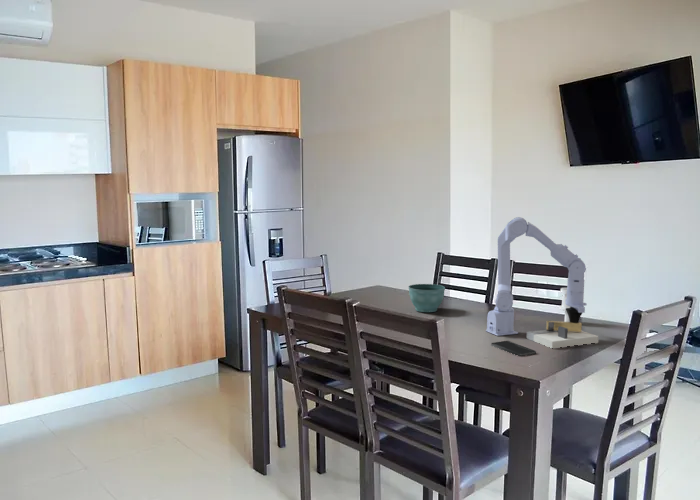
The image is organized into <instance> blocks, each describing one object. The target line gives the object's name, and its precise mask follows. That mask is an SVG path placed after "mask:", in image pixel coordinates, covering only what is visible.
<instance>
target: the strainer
mask: <svg viewBox="0 0 700 500" xmlns="http://www.w3.org/2000/svg"><path fill="white" fill-rule="evenodd" d="M560 292H561V293H563V294H562V297H561V305H560V306H559V310H561V311H564V321H563V322H570V320H569V316H568V313H567V311H566V308H570V306H567V305H566V304H565V301H566V299H567V287H561V288H560Z"/></svg>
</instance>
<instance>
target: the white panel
mask: <svg viewBox="0 0 700 500" xmlns="http://www.w3.org/2000/svg"><path fill="white" fill-rule="evenodd" d="M599 338H600V337H599V335H597V334H593V333H590V332H588V331H587V332H586V331H584V330H581V332H576V331H568V329H567V328H564V327H561V326H559V327H558V331H556V330H555V331H548V330H546V329H540V330H532V331H531V330H530V331H526V340H530V341H532V342H535V343H537V344H539V343H540V345H542V346H544V345H545V347H547V348H549V347H550V349H552V348H553V349H561V348H560V347H562V348H568V347H567V346H570V347H575V346H574V345H578V346H584V345H583V344H587V345H592V344H591V343H595V344H599Z"/></svg>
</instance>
